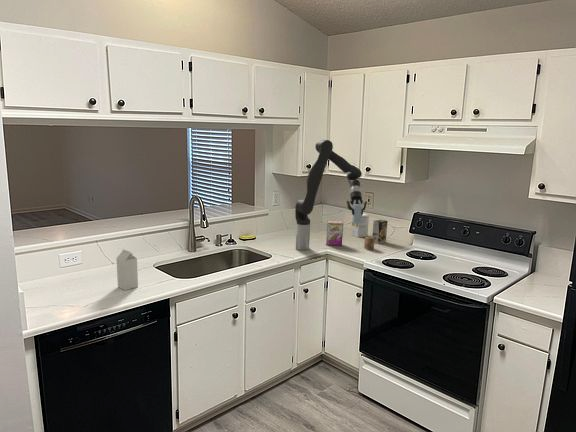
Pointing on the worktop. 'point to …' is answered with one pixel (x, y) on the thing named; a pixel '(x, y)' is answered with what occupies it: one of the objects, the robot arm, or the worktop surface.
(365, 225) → the supplement box
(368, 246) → the walnut block
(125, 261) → the milk carton
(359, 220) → the slate-blue block
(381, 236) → the coffee box
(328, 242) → the candy bar box
